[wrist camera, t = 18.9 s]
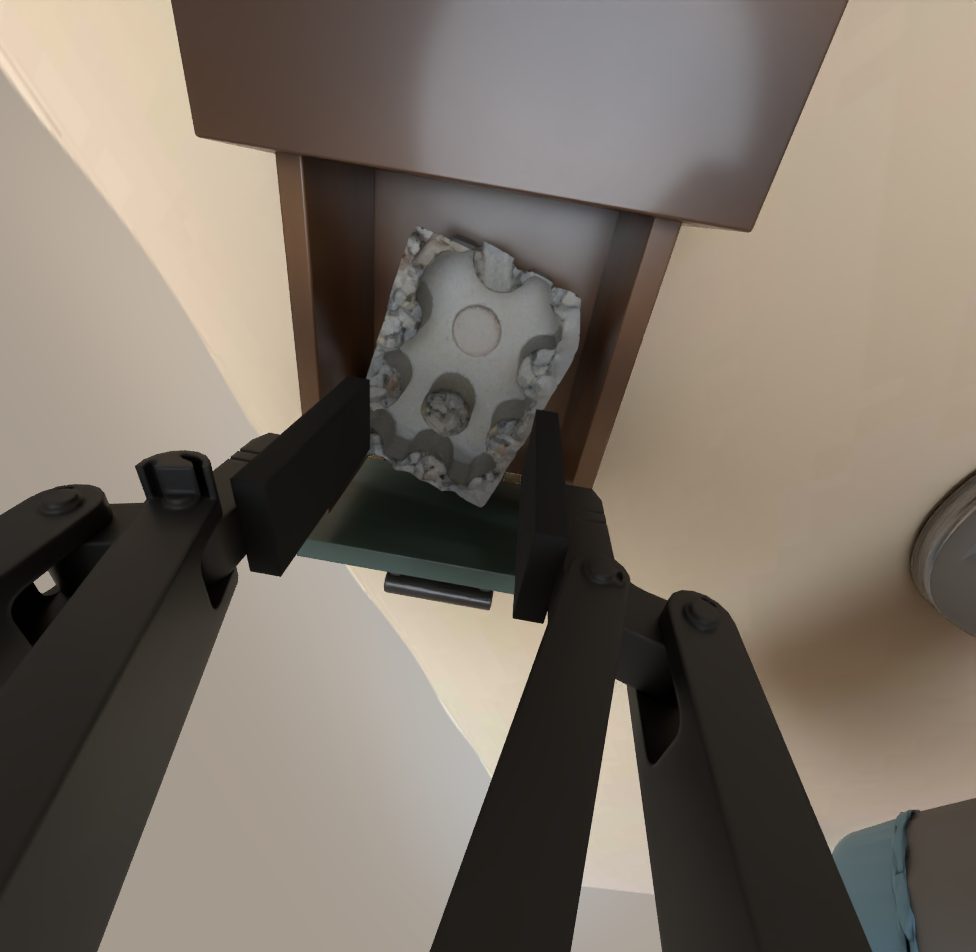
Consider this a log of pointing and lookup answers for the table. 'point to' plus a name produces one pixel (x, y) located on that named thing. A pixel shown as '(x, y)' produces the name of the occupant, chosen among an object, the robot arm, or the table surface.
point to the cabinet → (520, 92)
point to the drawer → (359, 318)
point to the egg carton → (465, 362)
